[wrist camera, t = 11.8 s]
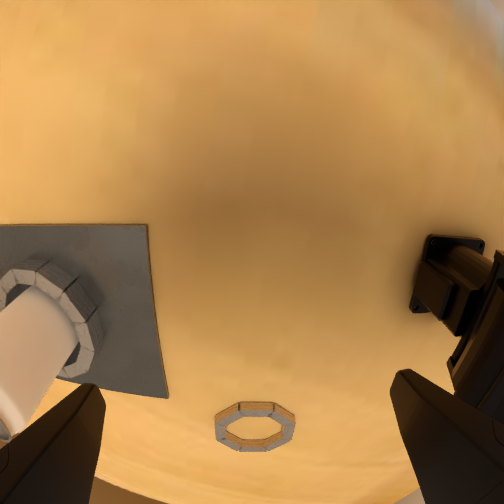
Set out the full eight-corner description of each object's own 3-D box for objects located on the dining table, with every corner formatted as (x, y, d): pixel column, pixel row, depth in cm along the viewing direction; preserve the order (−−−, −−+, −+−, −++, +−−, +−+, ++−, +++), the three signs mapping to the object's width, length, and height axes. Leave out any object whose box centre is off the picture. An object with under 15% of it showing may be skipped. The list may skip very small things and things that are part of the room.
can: (50, 350, 23) (-10, 441, 11) (14, 292, 20) (-67, 372, 9) (96, 339, 22) (34, 451, 11) (57, 272, 20) (-40, 366, 9)
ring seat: (147, 224, 19) (135, 235, 17) (169, 395, 25) (164, 414, 23) (-23, 225, 19) (-39, 233, 16) (21, 365, 24) (11, 378, 22)
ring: (297, 401, 25) (299, 409, 24) (287, 443, 28) (288, 450, 27) (214, 400, 25) (213, 408, 24) (217, 443, 28) (216, 450, 27)
